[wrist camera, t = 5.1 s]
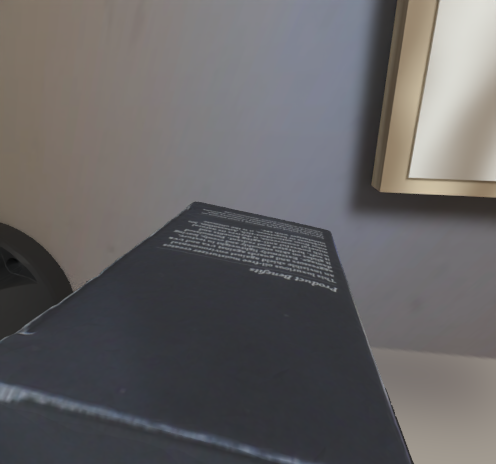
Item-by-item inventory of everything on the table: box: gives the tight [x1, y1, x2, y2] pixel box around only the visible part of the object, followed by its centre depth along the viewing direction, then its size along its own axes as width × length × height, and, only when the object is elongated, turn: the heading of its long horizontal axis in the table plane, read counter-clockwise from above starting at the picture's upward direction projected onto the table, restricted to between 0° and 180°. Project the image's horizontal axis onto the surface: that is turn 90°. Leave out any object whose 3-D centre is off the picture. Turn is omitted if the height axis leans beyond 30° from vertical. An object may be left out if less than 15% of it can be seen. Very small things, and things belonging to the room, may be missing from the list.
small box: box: [0, 202, 411, 464], centre depth 10 cm, size 11×6×10 cm, turn 170°
